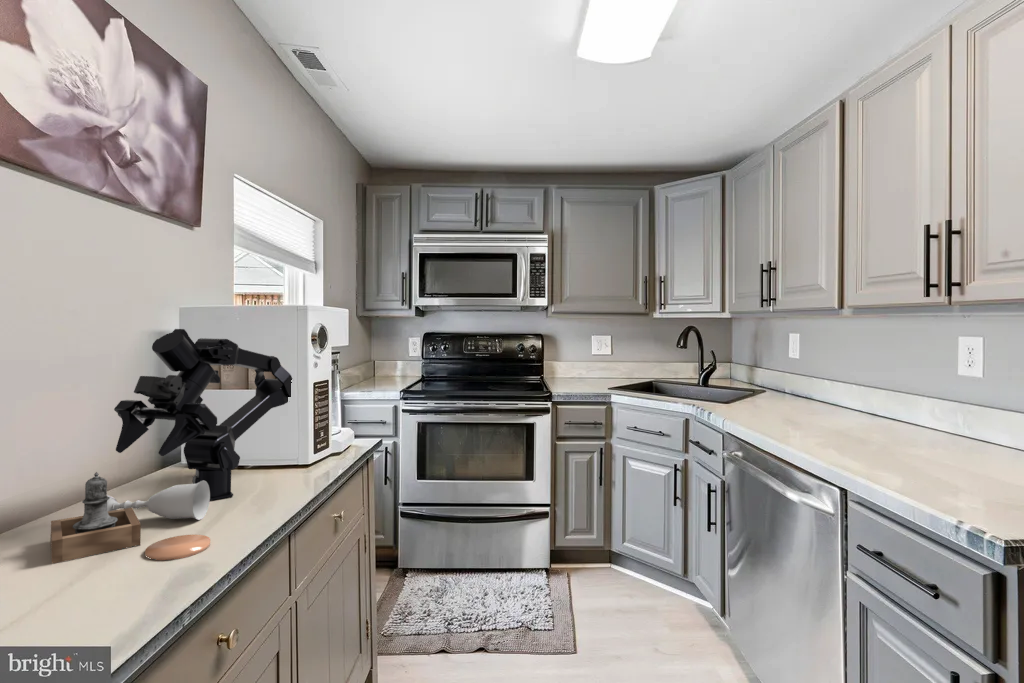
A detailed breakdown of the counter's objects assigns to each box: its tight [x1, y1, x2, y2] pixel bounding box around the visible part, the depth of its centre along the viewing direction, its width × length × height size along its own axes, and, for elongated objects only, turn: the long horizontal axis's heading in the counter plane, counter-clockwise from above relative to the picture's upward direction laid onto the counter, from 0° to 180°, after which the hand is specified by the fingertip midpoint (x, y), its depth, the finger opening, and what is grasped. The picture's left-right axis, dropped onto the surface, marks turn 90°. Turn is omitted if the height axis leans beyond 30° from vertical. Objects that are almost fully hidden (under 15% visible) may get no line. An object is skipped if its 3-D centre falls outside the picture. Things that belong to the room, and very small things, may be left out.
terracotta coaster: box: [144, 534, 211, 561], centre depth 85 cm, size 9×9×1 cm
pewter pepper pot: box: [73, 471, 118, 534], centre depth 86 cm, size 6×6×12 cm
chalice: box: [107, 480, 211, 521], centre depth 97 cm, size 7×7×18 cm
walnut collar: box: [50, 507, 142, 565], centre depth 86 cm, size 11×11×4 cm
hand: (139, 453), depth 94 cm, fingers open, 9 cm apart
